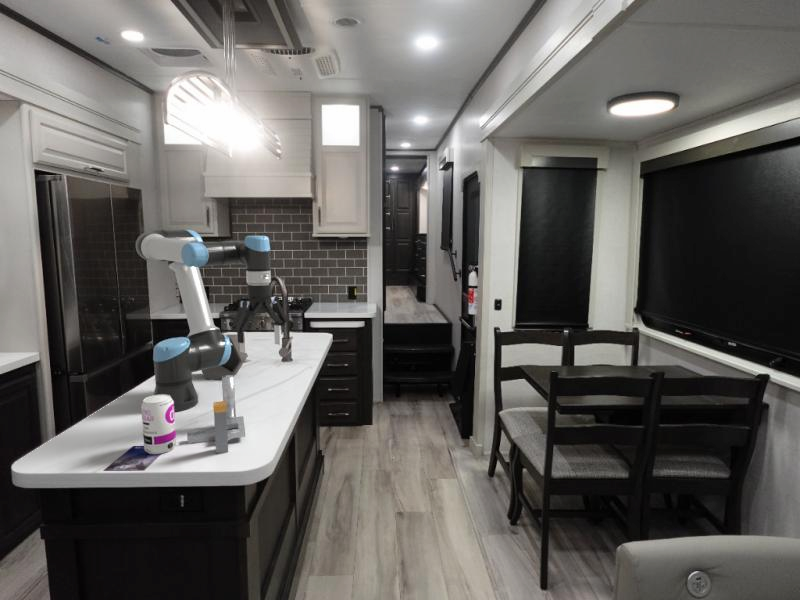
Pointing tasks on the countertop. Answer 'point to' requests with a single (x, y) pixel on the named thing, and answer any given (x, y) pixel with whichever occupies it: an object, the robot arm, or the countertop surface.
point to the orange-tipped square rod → (220, 427)
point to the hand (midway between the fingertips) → (261, 348)
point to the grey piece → (230, 412)
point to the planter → (228, 362)
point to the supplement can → (158, 424)
